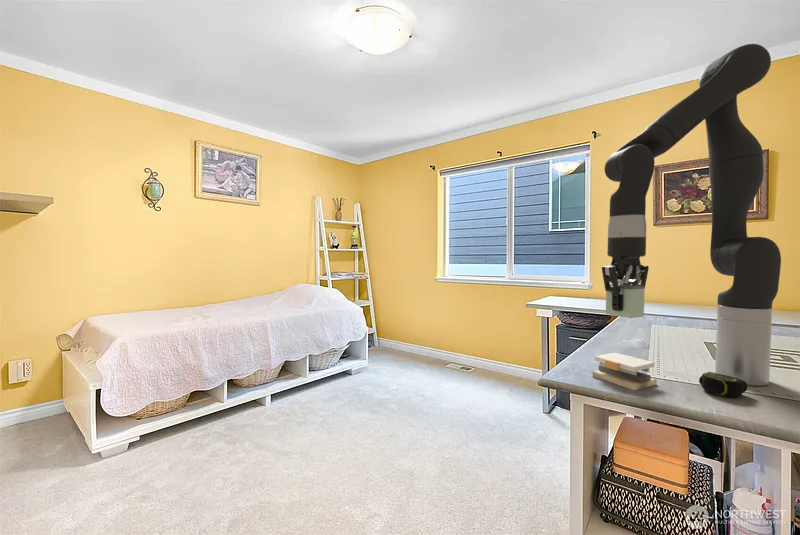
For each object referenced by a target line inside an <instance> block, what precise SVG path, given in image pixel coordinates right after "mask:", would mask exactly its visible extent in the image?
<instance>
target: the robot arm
mask: <svg viewBox="0 0 800 535" xmlns="http://www.w3.org/2000/svg"><path fill="white" fill-rule="evenodd" d="M771 64H772V59H771V55H770V52H769V51H768V49H767V48H765V46H763V45H760V44H758V43H748V44H744V45H741V46H738V47H736V48H734V49H732V50H730V51H729V52H727V53H725V54H724V55H722V56H721V57H719V58H717V59H715V60H714V61H712V62H711V63H709V64H708V65H707V66H706V67H705V68H704V69H703V70H702V72H701V73H700V75H699V80H698V88H697V89H696V90H695V91H693V92H691V93H690V94H689V95H687V96H686V97H685V98H683V99H681V100H680V101H679V102H677V103H676V104H674V105H673V106H671V108H669V109H668V110H666V111H665V112H664V113H662V114H661V115H660V116H659V117H657V118H656V119H655V120H653V121H652V123H651V124H649V125H648V126H647V127H646V128H645V129H644V130H643V131H642V132H641V133H640V134H638V135H637V136H635V137H634V138H633V139H631V140H629V141H628V142H627V143H626V144H624V145H623V146H621V147H620V148H619V149H617V150H616V151H614V152H613V153H612V154H611V155H610V156H609V157H608V159H606V162H605V164H604V174H605V176H606V177H607V178H608V179H609V180H610V181H611V182H616V183H619V185H618V188H617V190H615V191H614V192H613V193H612V194H611V195H610V199H609V219H608V226H607V253H606V254H607V256H608V257H609V258H610V257H611V258H612V259H611V262H610V265H607V266H606V265H603V266H602V267H601V272H602V277H603V278H602V279H603V283H604V284H603V285H604V290H605V292H606V291H609V292H610V293H611V294H612V309H613V310H616V311H622V310H623V298H624V295H623V293H624V286H626V285H638V286H645V287H646V284H647V279H648V275H649V274H648V273H649V270H650V269H649V265H643V264H642V263H641V260H640V258H643V257H645V256H646V254H647V253H646V252H647V220H646V218H647V217H646V206H647V205H646V204H647V201H646V197H647V195H648V191H649V189H650V188H649V187H650V184H651V182H652V178H653V174H654V171H655V162H656V161H655V158H657V157H659V156H661V155H664V154H665V153H666V152H668V151H669V150H670V149H672V148H673V147H674V146H676V145H677V143H679V142H680V141H682V140H683V138H685V137H686V136H687V135H688V134H689V133H690V132H691V131H692V130H694V129H695V128H696V127H697V126H698V125H699V124H701V123H702V122H703V121H705V129H706V140H707V150H708V169H709V170H708V173H709V183H710V184H709V185H710V193H711V194H710V195H711V196H710V198H711V235H710V236H711V237H710V248H709V250H710V251H709V252H710V253H709V254H710V255H709V256H710V261H711V264H712V267H713V268H714V269H715V271H716V272H718V273H719V274H721V275H724V276H726V277H727V276H728V277H733V280H732V281H733V282H732V285H731V286H730V287H729V288H728V289H727V290H724V291H721V292H719V293H718V295H717V302H716V303H717V307H716V309H717V310H716V343H715V368H714V369H715V370H714V373H717V374H722V375H727V376H731V377H734V378H738V379H741V380H743V381H745V382H746V384H747V386H757V387H763V386H769V385H770V371H771V343H772V318H773V317H772V316H773V314H772V313H773V302H774V300H775V298H776V297H777V295H778V292H779V283H780V276H781V266H782V256H781V252H780V247H778V245H777V243H776V242H774V241H773V240H772V239H770V238H768V237H764V236H748V234H747V233H748V232H747V230H748V229H747V221H748V220H747V219H748V213H749V210H750V208H751V206H752V203H753V202H754V201H755V199H756V197H757V195H758V192H759V190H760V188H761V186H762V182H763V179H764V175H765V174H764V173H765V170H764V152H763V148H762V144H761V143H760V142H759V140H758V138H757V137H755V135H754V134H753V133H752V132H751V131H750V130H749V129H748V128H747V127H746V126H745V124H743V123H744V122H742V120H741V118H740V117H739V116H740V115H739V110H738V109H739V108H738V102H737V101H738V95H739V94H741V93H743V92H744V91H746V90H748V89H750V88H752V87H753V86H755V85H757V84H758V83H759V82H761V81H762V80H763V79H764V78H765V77H766V75H767V74H768V73H769V70H770V69H771V68H770V67H771ZM611 284H612V285H611ZM610 285H611V286H610ZM618 285H620V287H618Z"/></svg>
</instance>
